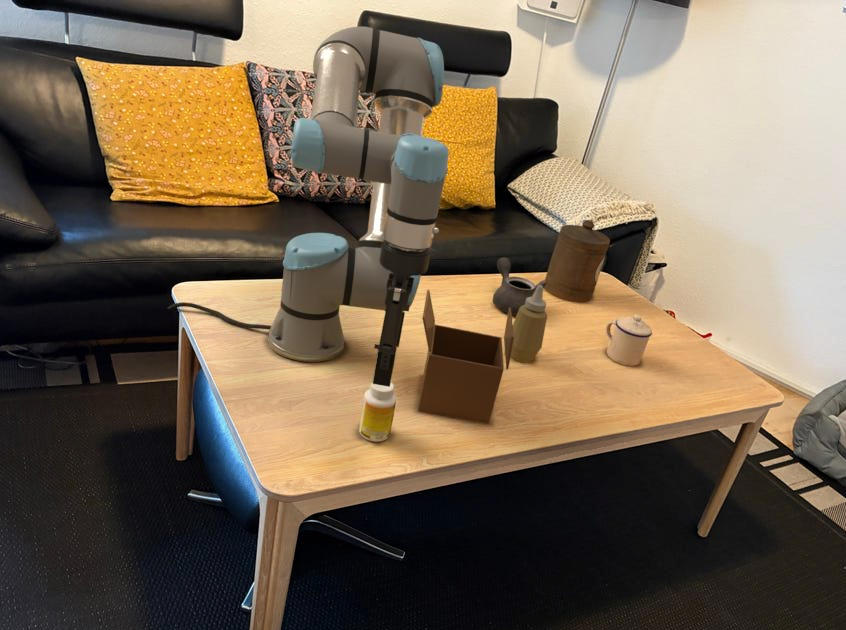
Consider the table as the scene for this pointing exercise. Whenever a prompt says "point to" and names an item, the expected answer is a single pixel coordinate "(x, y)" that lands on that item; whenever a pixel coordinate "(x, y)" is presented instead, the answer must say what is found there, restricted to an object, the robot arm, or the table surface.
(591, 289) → the wooden container
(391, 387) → the supplement bottle
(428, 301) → the flap
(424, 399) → the carton
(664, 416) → the table surface
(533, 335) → the squeeze bottle
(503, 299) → the teapot
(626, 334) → the teacup with lid
